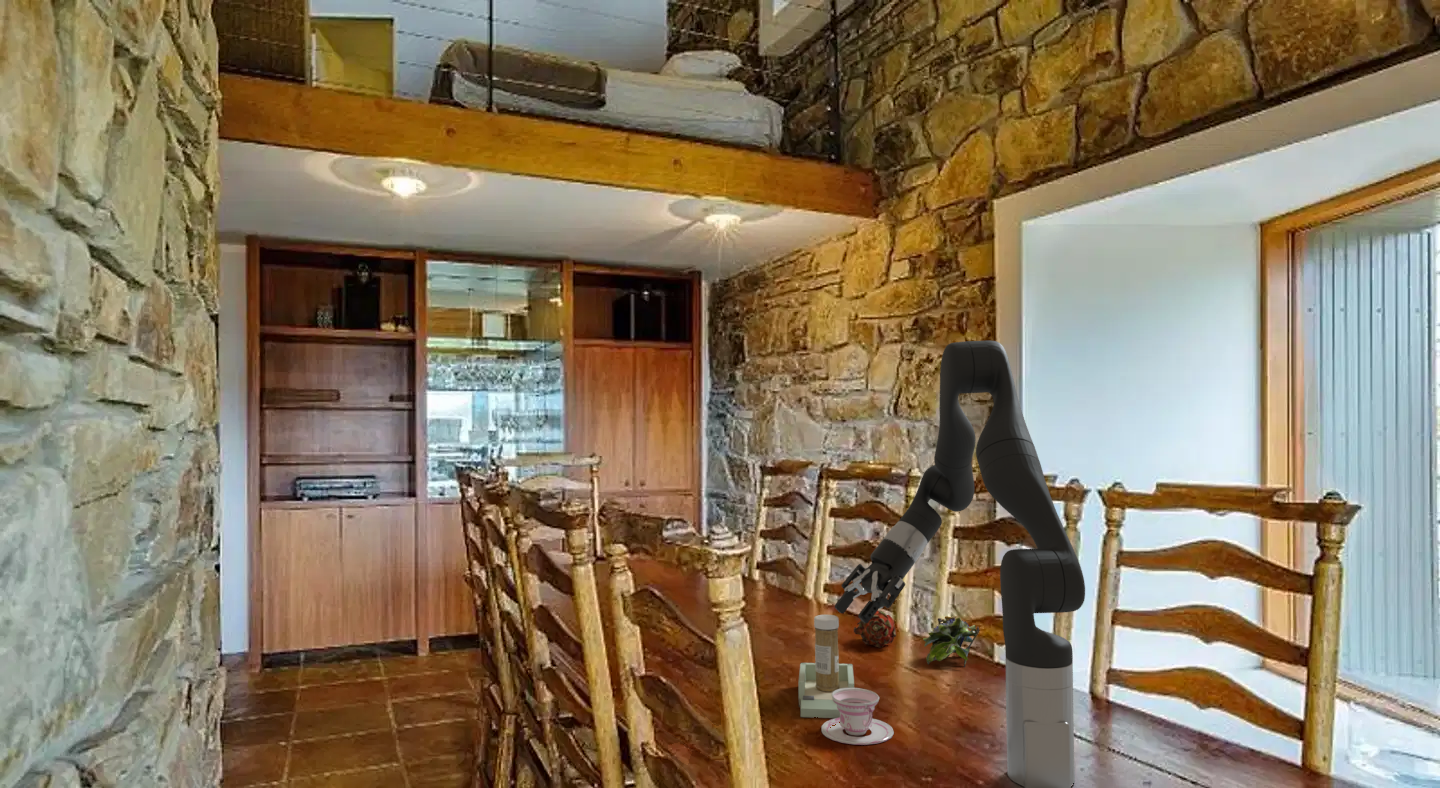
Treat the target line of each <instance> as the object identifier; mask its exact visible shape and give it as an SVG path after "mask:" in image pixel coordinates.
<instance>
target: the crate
mask: <svg viewBox="0 0 1440 788" xmlns="http://www.w3.org/2000/svg"><path fill="white" fill-rule="evenodd" d="M839 686H840V687H839V689H841V688H855V677H854V665H853V664H852V663H839ZM832 693H833V691H831V692H825V691H820V690H818V689H817V688H816V668H815V662H800V664H799V675H798V707H799V708H800V718H814V717H816V718H817V717H818V718H820V719H835V718H839V717H840V712H839V710H838V708H837V704H836V703H835V702H834V701H833V699H832Z"/></svg>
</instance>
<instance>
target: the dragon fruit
mask: <svg viewBox="0 0 1440 788" xmlns="http://www.w3.org/2000/svg"><path fill="white" fill-rule="evenodd" d="M856 625H858V627H856V626H855V627H854V628H853V633H854V634H855V635H858V636H859V635H860V637H861V641H862V642H863V643H864V644H865V645H866V646H871V645H872V647H873V646H874V647H875V648H879V649H881V648H883V647H884V646H885V645H889V644H892V643H893V642H894V640H895V638H896V637H897V632H896V626H895V619H893V618H892V616H891V615H889V614H886V613H885V612H884V611H882V610H879V609H878V610H877V612H876V613H875V614H874V616H873V617H872V618H871V620H870V621H869V622H868V623H864V622H863V621H862V620H861V619H860V621H858V622H857V624H856Z"/></svg>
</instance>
